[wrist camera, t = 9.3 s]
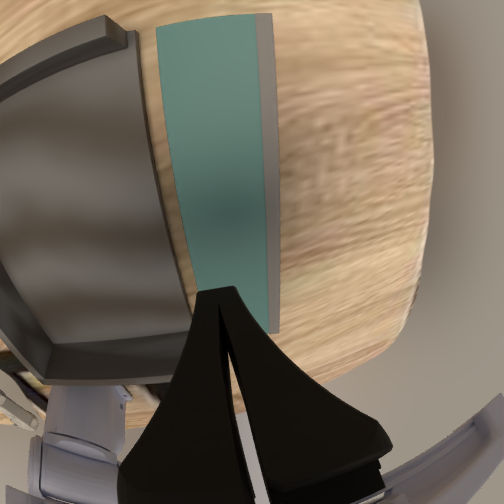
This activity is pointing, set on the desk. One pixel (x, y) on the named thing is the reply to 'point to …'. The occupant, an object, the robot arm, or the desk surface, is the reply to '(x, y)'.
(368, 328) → the desk surface
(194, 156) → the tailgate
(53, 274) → the box
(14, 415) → the game controller
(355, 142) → the desk surface
